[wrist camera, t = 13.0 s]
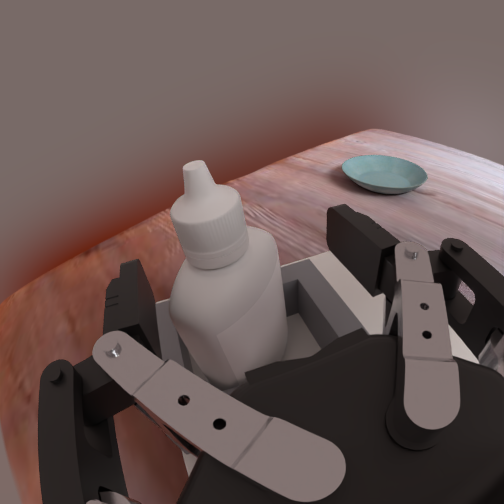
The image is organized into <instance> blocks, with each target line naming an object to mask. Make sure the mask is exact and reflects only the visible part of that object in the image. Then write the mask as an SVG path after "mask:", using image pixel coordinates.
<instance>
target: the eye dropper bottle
mask: <svg viewBox="0 0 504 504" xmlns="http://www.w3.org/2000/svg"><path fill="white" fill-rule="evenodd" d="M183 174H184V185H185V194H184V195H182V196H181V197H180V198H178V200H176V202H175V203H174V204H173V206H172V208H171V211H170V217H171V220H172V222H173V225H174V228H175V230H176V233H177V236H178V238H179V241H180V243H181V246H182V249H183V251H184V254H185V256H186V259H185V260H184V262H183V264H182V266H181V268H180V270H179V272H178V274H177V277H176V279H175V282H174V285H173V288H172V292H171V295H170V300H169V315H170V318H171V321H172V322H173V324H174V326H175V328H176V330H177V332H178V333H179V335H180V337H181V339H182V340H183V342H184V344H185V345H186V347H187V349H188V350H189V352H190V353H191V355H192V357H193V358H194V360H195V361H196V363H197V364H198V366H199V368H200V369H201V371H202V372H203V374H204V375H205V377H206V378H207V380H208V381H209V383H210V384H211V385H212V386H214V387H216V388H217V389H219V390H221V391H224V390H228V389H231V388H234V387H238V386H240V385H242V384H243V383H245V382H246V381H247V380H246V376H245V373H244V372H247V371H250V370H253V369H256V368H259V367H262V366H265V365H268V364H271V363H274V362H278V361H283V358H284V355H285V352H286V347H287V341H288V325H287V316H286V308H285V300H284V291H283V284H282V276H281V268H280V261H279V255H278V249H277V245H276V241H275V240H274V238H273V236H272V235H271V234H270V233H268V232H267V231H265V230H263V229H259V228H255V227H251V226H246V222H245V217H244V212H243V207H242V203H241V198H240V194H239V193H238V192H237V191H236V190H235V189H233V188H231V187H229V186H226V185H216V184H215V182H214V181H213V179H212V177H211V175H210V172H209V170H208V169H207V166H206V164H205V162H204V161H201V160H197V161H193V162H190V163H187V164H186V165H185V166H184V167H183Z"/></svg>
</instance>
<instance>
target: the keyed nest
mask: <svg viewBox="0 0 504 504" xmlns="http://www.w3.org/2000/svg"><path fill="white" fill-rule="evenodd" d="M280 268H281V276H282V284H283V291H284V300H285V308H286V316H287V325H288V341H287V347H286V352H285V355H284V358H283V361H285V360H292V359H299V358H306V357H310V356H313V355H314V354H316V353H317V352H318V351H320V350H321V349H323V348H324V347H325V346H327V345H328V344H330V343H331V342H332V341H334V340H335V339H336V338H339V337H341V336H344V335H346V334H348V333H351V332H353V331H355V330H357V329H360V328H363V329H364V330H365V332H366V333H367V334H368V335H372V334H382V333H383V308H384V298H385V295H384V294H383V293H382V294H380V295H377V296H375V297H372V296H371V295H370V294H369V293H368V291H367V290H366V289H365V288H364V287H363V286H362V285H361V284H360V283H359V282H358V280H357V279H356V278H355V277H354V276H353V275H352V274H351V273H350V272H349V271H348V270H347V268H346V267H345V266H344V265H343V264H342V263H341V262H340V261H339V260H338V259H337V258H336V257H335V256H334V255H333V254H332V252H331V251H327V252H324V253H321V254H318V255H315V256H311V257H308V258H305V259H302V260H298V261H295V262H292V263H289V264H285V265H282V266H280ZM169 300H170V299H166V300H162V301H159V302H156V304H155V306H156V315H157V324H158V332H159V339H160V347H161V354H162V360H163V361H164V362H165V361H166V360H167V359H171V360H173V361H175V362H176V363H178V364H179V365H181V366H182V367H184V368H185V369H187V370H189V371H190V372H192V373H193V374H195V375H196V376H198V377H199V378H201V379H203V380H204V381H206V382H207V383H209V381H208V380H207V378H206V377H205V375H204V374H203V372H202V371H201V369H200V368H199V366H198V364H197V363H196V361H195V360H194V358H193V357H192V355H191V353H190V352H189V350H188V349H187V347H186V345H185V344H184V342H183V340H182V339H181V337H180V335H179V333H178V332H177V330H176V328H175V326H174V324H173V322H172V321H171V318H170V315H169ZM448 325H449V324H448ZM449 333H450V341H451V349H452V355H453V356H456V357H459V358H462V359H465V360H468V361H471V362H474V363H478V364H479V361H478V360H477V358H476V357H475V356H474V355H473V353H472V352H471V351H470V350H469V348H468V347H467V346H466V345H465V343H464V342H463V341H462V340H461V338H460V337H459V336H458V335H457V334H456V332H455V331H454V330H453V329H452V328H451V327H450V325H449ZM209 384H210V383H209ZM238 387H239V386H238ZM238 387H234V388H231V389H228V390H224V391H222V392H224V393H226V394H228V395H230V394H231V393H232V392H233V391H234V390H235V389H236V388H238ZM166 435H167V434H166ZM167 436H168V435H167ZM168 437H169V438H170V439H171V440H172V441H173V442H174V443H175V444H176V445H177V446H178V447H179V448H180V449H181V450H182V454H183V458H184V462H185V465H186V469H187V473H188V477H189V475H190V473H191V471H192V469H193V467H194V465H195V462H196V460H197V458H196V457H195V456H194V455H192V454H191V453H189V452H188V451H187V450H185V449H184V448H183V447H182V446H180V445H179V444H178V443H177V442H175V441H174V440H173V439H172V438H171V437H170V436H168Z"/></svg>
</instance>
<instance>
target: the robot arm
mask: <svg viewBox="0 0 504 504" xmlns="http://www.w3.org/2000/svg"><path fill="white" fill-rule="evenodd" d="M326 239H327V245H328V247H329V250H330V251H331V252H332V254H333V255H334V256H335V257H336V258H337V259H338V260H339V261H340V262H341V263H342V264H343V265H344V266H345V267H346V268H347V270H348V271H349V272H350V273H351V274H352V275H353V276H354V277H355V278H356V279H357V280H358V282H359V283H360V284H361V285H362V286H363V287H364V288H365V289H366V290H367V291H368V293H369V294H370V295H371V296H372V297H375V296H377V295H380V294H382V293H383V294H384V295H385V298H384V308H383V333H382V334H372V335H368V334H367V333H366V332H365V330H364V329H363V328H360V329H357V330H355V331H353V332H351V333H348V334H346V335H344V336H341V337H339V338H336V339H335V340H334V341H332V342H331V343H330V344H328V345H327V346H325V347H324V348H323V349H321V350H320V351H318V352H317V353H316V354H314V355H313V356H310V357H306V358H299V359H292V360H285V361H278V362H274V363H271V364H268V365H265V366H262V367H259V368H256V369H253V370H250V371H247V372H244V373H245V376H246V380H247V381H246V382H245V383H243V384H242V385H240V386H239V387H238V388H236V389H235V390H234V391H233V392H232V393H231V394H230V395H228V394H226V393H224V392H222V391H221V390H219V389H217V388H216V387H214V386H212V385H211V384H209V383H207V382H206V381H204V380H203V379H201V378H199V377H198V376H196V375H195V374H193V373H192V372H190V371H189V370H187V369H185V368H184V367H182V366H181V365H179V364H178V363H176V362H175V361H173V360H171V359H167V360H166V361H165V362H164V361H163V360H162V354H161V347H160V339H159V332H158V324H157V315H156V306H155V300H154V296H153V292H152V289H151V287H150V285H149V282H148V280H147V277H146V275H145V272H144V270H143V267H142V265H141V262H140V260H139V259H136V260H132V261H129V262H126V263H122V264H121V265H120V277H119V278H116V279H112V281H111V282H110V284H109V286H108V287H107V289H106V301H105V311H104V325H103V336H102V337H100V338H99V339H98V340H97V342H96V343H95V345H94V347H93V353H92V354H93V355H92V356H90V357H89V358H87V359H86V360H84V361H82V362H80V363H78V364H76V365H75V366H72V365H71V363H70V362H68V361H66V360H56V361H54V362H52V363H51V364H49V365H48V366H47V367H46V368H45V370H44V371H43V373H42V375H41V379H40V391H39V409H38V455H39V472H40V484H41V493H42V501H43V504H142V503H140V502H138V501H136V500H134V499H131V498H129V497H128V493H127V489H126V484H125V480H124V475H123V471H122V466H121V461H120V456H119V450H118V445H117V439H116V433H115V426H114V419H113V415H115V414H117V413H118V412H120V411H122V410H124V409H126V408H128V407H129V406H131V405H133V406H134V407H136V408H137V409H138V410H139V411H140V412H141V413H142V414H143V415H145V416H146V417H147V418H148V419H149V420H150V421H152V422H153V423H154V424H155V425H156V426H158V427H159V428H160V429H161V430H162V431H164V432H165V433H166V434H167V435H168V436H170V437H171V438H172V439H173V440H174V441H175V442H177V443H178V444H179V445H180V446H182V447H183V448H184V449H185V450H187V451H188V452H189V453H191V454H192V455H194V456H195V457H196V458H197V460H196V462H195V465H194V467H193V469H192V471H191V473H190V475H189V478H188V480H187V482H186V484H185V486H184V488H183V491H182V493H181V495H180V497H179V499H178V501H177V503H176V504H504V276H503V275H501V274H500V273H499V272H498V271H497V270H496V269H495V268H494V267H493V266H492V265H490V264H489V263H488V262H487V261H486V260H485V259H484V258H482V257H481V256H480V255H479V254H478V253H477V252H475V251H474V250H473V249H472V248H471V247H469V246H468V245H467V244H466V243H464V242H463V241H461V240H458V239H454V238H447V239H445V240H443V241H442V244H441V248H440V250H435V251H427V250H426V249H425V248H424V247H423V246H421V245H420V244H418V243H415V242H409V241H406V242H400V241H399V240H397V239H396V238H395V237H394V236H393V235H391V234H390V233H389V232H388V231H386V230H385V229H384V228H382V227H381V226H380V225H379V224H377V223H375V221H373V220H372V219H371V218H370V217H368V216H366V215H363V214H361V213H358V212H355V211H354V210H353V209H351V208H350V207H349V206H347V205H346V204H342V205H338V206H334V207H330V208H328V210H327V237H326ZM461 281H463V282H464V283H465V284H466V285H467V286H468V287H469V288H470V289H471V290H472V291H473V292H474V294H475V304H474V306H473V305H472V304H471V303H470V302H469V301H468V300H467V299H466V298H465V297H464V296H463V295H462V294H461V293H460V292H459V291H458V288H459V286H460V283H461ZM448 324H449V325H450V327H451V328H452V329H453V330H454V331H455V332H456V334H457V335H458V336H459V337H460V338H461V340H462V341H463V342H464V343H465V345H466V346H467V347H468V348H469V350H470V351H471V352H472V353H473V355H474V356H475V357H476V358H477V360H478V361H479V364H478V363H474V362H471V361H468V360H465V359H462V358H459V357H456V356H453V355H452V349H451V341H450V333H449V325H448Z"/></svg>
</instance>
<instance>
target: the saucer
mask: <svg viewBox="0 0 504 504" xmlns="http://www.w3.org/2000/svg"><path fill="white" fill-rule="evenodd" d="M342 170H343V172H344V173H345V174H346V175H347V176H348V177H349V178H350V179H351V180H353V181H354V182H355V183H357V184H358V185H360V186H361V187H363V188H365V189H368V190H370V191H373V192H377V193H382V194H401V193H405V192H409V191H411V190H414V189H416V188H417V187H419V186H421V185H422V184H423V183H424V182H426V180H427V179H428V177H427V174H426V172H425V171H424V170H423V169H422V168H421V167H420V166H418V165H416V164H414V163H412V162H409V161H407V160H404V159H400V158H395V157H390V156H383V155H364V156H358V157H354V158H350V159H348V160H347V161H345V162H344V163H343V164H342Z"/></svg>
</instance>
